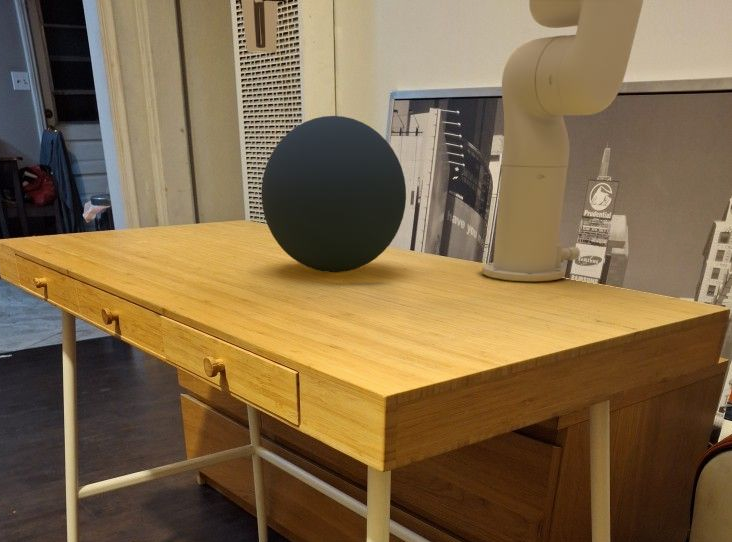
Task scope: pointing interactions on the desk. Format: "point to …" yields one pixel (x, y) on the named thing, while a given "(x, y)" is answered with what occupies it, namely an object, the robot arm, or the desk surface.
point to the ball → (333, 194)
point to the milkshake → (260, 25)
